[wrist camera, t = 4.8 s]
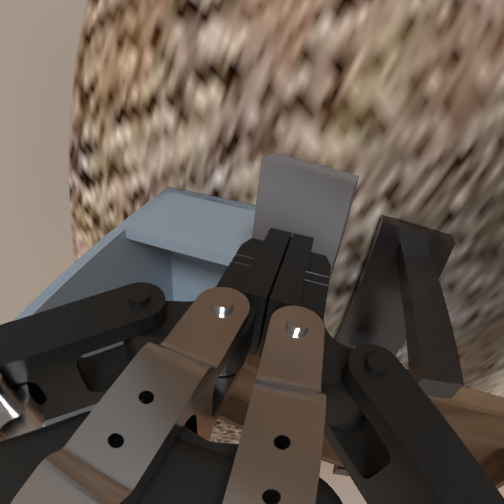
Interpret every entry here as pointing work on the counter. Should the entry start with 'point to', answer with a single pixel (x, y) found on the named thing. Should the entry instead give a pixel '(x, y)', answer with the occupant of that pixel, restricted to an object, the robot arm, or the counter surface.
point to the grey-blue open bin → (156, 254)
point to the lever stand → (406, 305)
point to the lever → (328, 243)
